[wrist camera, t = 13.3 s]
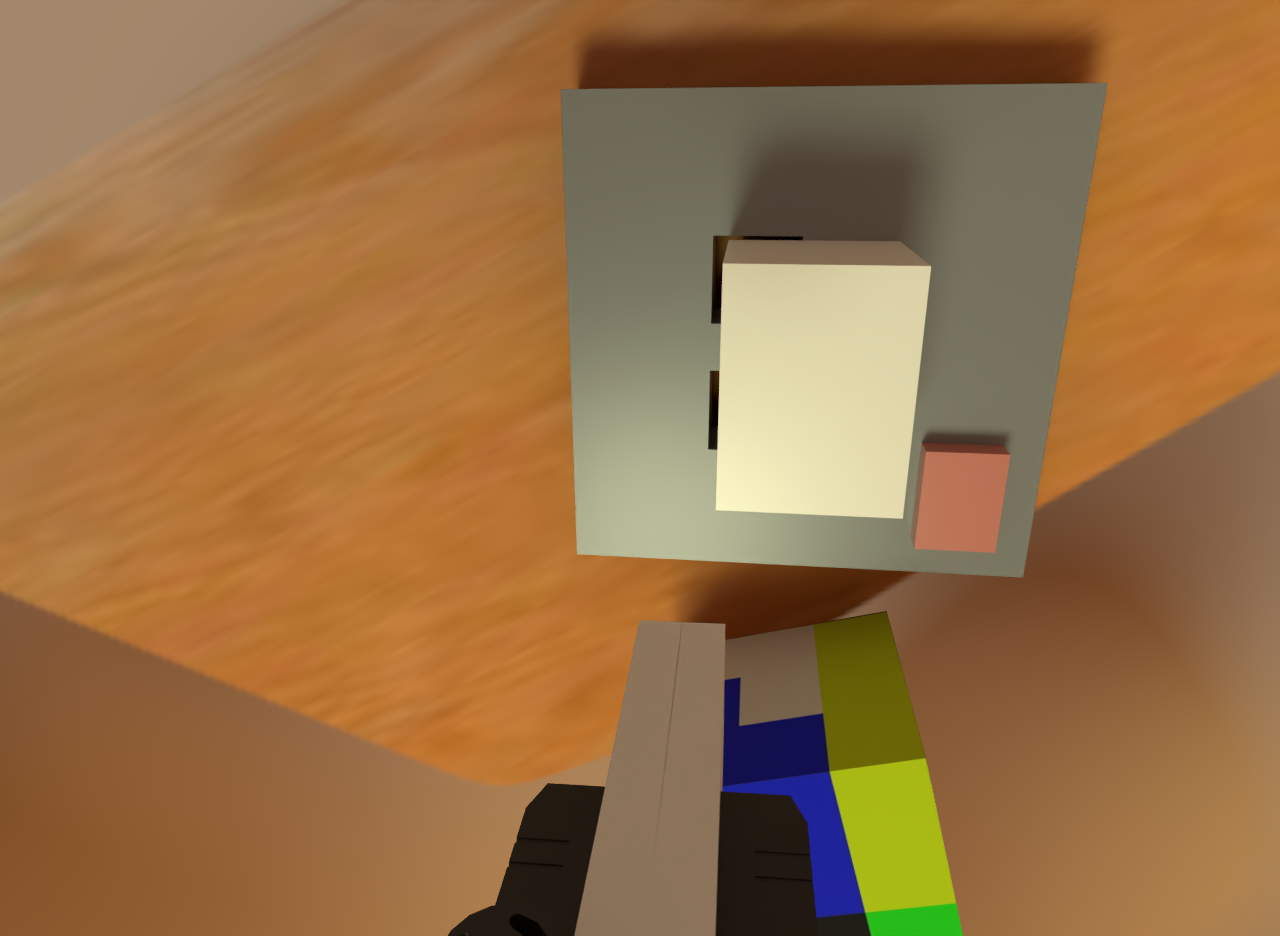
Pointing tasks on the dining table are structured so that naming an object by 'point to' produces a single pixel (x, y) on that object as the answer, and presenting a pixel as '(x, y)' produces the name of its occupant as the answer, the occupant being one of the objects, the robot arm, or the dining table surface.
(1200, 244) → the dining table surface
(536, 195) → the dining table surface
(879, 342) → the plug
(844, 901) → the puzzle toy
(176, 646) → the dining table surface
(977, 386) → the socket plate
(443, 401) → the dining table surface
